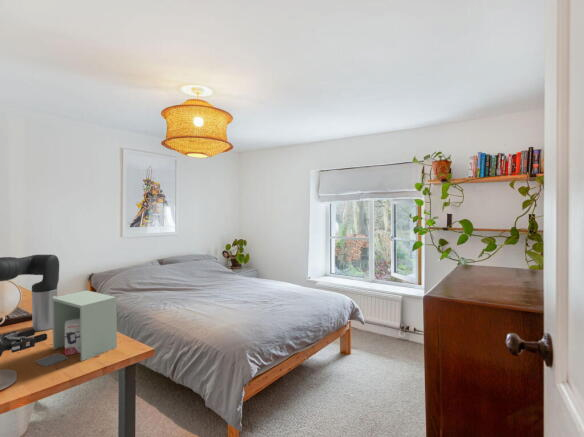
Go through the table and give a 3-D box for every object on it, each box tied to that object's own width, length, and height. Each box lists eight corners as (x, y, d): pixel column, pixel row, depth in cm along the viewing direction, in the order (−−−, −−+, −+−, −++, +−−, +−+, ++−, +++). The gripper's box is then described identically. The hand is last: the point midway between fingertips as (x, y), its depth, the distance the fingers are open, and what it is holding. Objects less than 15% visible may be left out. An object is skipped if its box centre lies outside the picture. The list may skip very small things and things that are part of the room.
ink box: (64, 356, 120) (64, 324, 120) (65, 350, 124) (64, 320, 124) (91, 350, 125) (91, 320, 124) (91, 345, 129) (90, 316, 128)
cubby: (53, 348, 126) (52, 297, 125) (87, 337, 137) (86, 290, 136) (82, 361, 116) (81, 305, 115) (116, 347, 127) (116, 297, 127)
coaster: (35, 362, 115) (35, 360, 115) (57, 354, 121) (57, 353, 121) (45, 366, 112) (45, 365, 112) (67, 358, 118) (67, 357, 118)
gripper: (-12, 343, 95) (51, 326, 110) (-31, 334, 102) (30, 319, 116) (-12, 369, 95) (51, 348, 110) (-31, 358, 102) (30, 340, 117)
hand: (40, 333), depth 113 cm, fingers open, 8 cm apart
